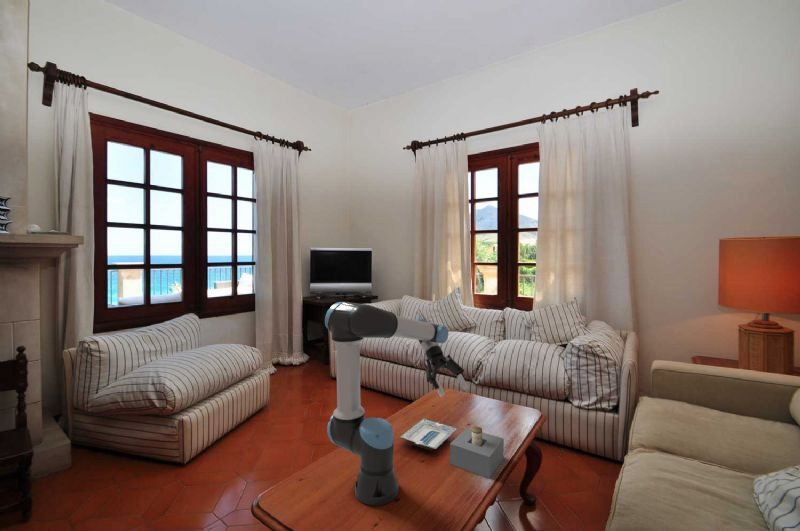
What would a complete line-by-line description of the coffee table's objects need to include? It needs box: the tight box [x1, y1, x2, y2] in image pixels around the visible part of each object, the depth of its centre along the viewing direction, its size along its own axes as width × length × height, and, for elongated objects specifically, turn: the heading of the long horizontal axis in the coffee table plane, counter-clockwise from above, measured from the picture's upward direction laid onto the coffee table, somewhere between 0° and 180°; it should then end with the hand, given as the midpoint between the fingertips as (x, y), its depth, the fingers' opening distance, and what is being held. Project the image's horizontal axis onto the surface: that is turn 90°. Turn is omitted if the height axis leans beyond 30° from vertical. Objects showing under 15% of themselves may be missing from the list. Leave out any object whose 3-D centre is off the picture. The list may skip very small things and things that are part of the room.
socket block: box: [449, 427, 505, 480], centre depth 139 cm, size 16×16×8 cm
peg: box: [471, 425, 483, 447], centre depth 139 cm, size 4×4×12 cm
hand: (454, 392), depth 148 cm, fingers open, 13 cm apart
